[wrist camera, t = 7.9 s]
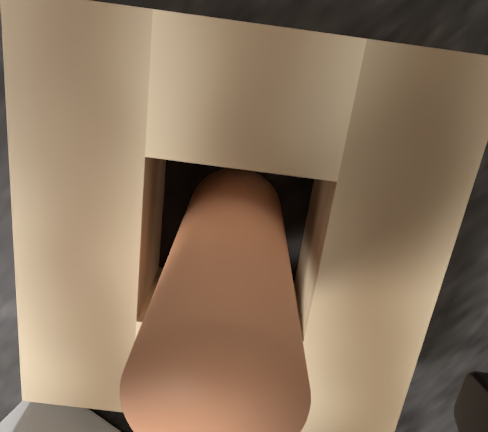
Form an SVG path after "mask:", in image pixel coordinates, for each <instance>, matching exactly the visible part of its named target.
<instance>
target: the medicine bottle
mask: <svg viewBox="0 0 488 432" xmlns="http://www.w3.org/2000/svg"><path fill="white" fill-rule="evenodd" d="M0 432H121V431H120V430H118V429H117V428H115V427H114V426H112V425H111V424H110V423H108V422H107V421H105V420H104V419H102V418H101V417H100V416H98V415H97V414H95V413H94V412H93V411H91V410H90V409H88V408H80V407H72V406H63V405H54V404H45V403H37V402H28V401H22V402H21V403H20V404H19V405H18V406H17V407H16V408H15V409H14V410H13V411H12V412H10V413H9V414H8V415H7V416H6V417H5V418H4V419H3V420H2V421H1V422H0Z"/></svg>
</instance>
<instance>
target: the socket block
mask: <svg viewBox="0 0 488 432" xmlns="http://www.w3.org/2000/svg"><path fill="white" fill-rule="evenodd" d="M0 6H1V24H2V43H3V61H4V79H5V97H6V116H7V134H8V152H9V170H10V189H11V207H12V225H13V243H14V262H15V280H16V298H17V316H18V335H19V353H20V371H21V389H22V401H28V402H37V403H45V404H54V405H63V406H72V407H80V408H89V409H98V410H107V411H115V412H123V410H122V407H121V402H120V381H121V377H122V373H123V370H124V367H125V365H126V362H127V360H128V357H129V355H130V352H131V350H132V347H133V344H134V342H135V339H136V337H137V334H138V332H139V329H140V327H141V324H142V322H143V319H144V317H145V314H146V311H147V309H148V306H149V304H150V301H151V299H152V296H153V294H154V291H155V289H156V286H157V283H158V281H159V278H160V276H161V273H162V271H163V267H159V258H160V243H161V229H162V215H163V200H164V186H165V172H166V160H173V161H180V162H188V163H196V164H203V165H211V166H219V167H227V168H234V169H242V170H250V171H257V172H265V173H273V174H281V175H288V176H296V177H304V178H311V179H314V182H313V187H312V192H311V198H310V203H309V208H308V213H307V219H306V224H305V229H304V235H303V240H302V245H301V250H300V256H299V261H298V266H297V271H296V277H295V282H294V290H295V296H296V303H297V309H298V315H299V321H300V328H301V334H302V340H303V346H304V352H305V359H306V365H307V371H308V377H309V383H310V390H311V405H310V411H309V415H308V418H307V421H306V423H305V425H304V427H303V429H302V430H301V432H395V429H396V426H397V423H398V420H399V416H400V413H401V410H402V407H403V404H404V401H405V398H406V395H407V391H408V388H409V385H410V382H411V379H412V376H413V373H414V370H415V366H416V363H417V360H418V357H419V354H420V351H421V348H422V345H423V341H424V338H425V335H426V332H427V329H428V326H429V323H430V319H431V316H432V313H433V310H434V307H435V304H436V301H437V298H438V294H439V291H440V288H441V285H442V282H443V279H444V276H445V273H446V269H447V266H448V263H449V260H450V257H451V254H452V251H453V248H454V244H455V241H456V238H457V235H458V232H459V229H460V226H461V222H462V219H463V216H464V213H465V210H466V207H467V204H468V201H469V197H470V194H471V191H472V188H473V185H474V182H475V179H476V176H477V172H478V169H479V166H480V163H481V160H482V157H483V154H484V151H485V147H486V144H487V141H488V55H481V54H474V53H467V52H459V51H452V50H445V49H438V48H431V47H423V46H416V45H409V44H402V43H395V42H387V41H380V40H373V39H366V38H358V37H351V36H344V35H337V34H330V33H322V32H315V31H308V30H301V29H293V28H286V27H279V26H272V25H265V24H257V23H250V22H243V21H236V20H228V19H221V18H214V17H207V16H200V15H192V14H185V13H178V12H171V11H163V10H156V9H149V8H142V7H135V6H127V5H120V4H113V3H106V2H98V1H91V0H0Z"/></svg>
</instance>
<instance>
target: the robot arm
mask: <svg viewBox="0 0 488 432" xmlns="http://www.w3.org/2000/svg"><path fill="white" fill-rule="evenodd" d="M454 417H455V421H456V424H457V428H458V431H459V432H488V373H485V372H477V371H470V372H468V373H467V374H466V376H465V378H464V380H463V383H462V386H461V388H460V391H459V394H458V396H457V399H456V402H455V405H454Z"/></svg>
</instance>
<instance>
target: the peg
mask: <svg viewBox="0 0 488 432" xmlns="http://www.w3.org/2000/svg"><path fill="white" fill-rule="evenodd" d="M120 402H121V407H122V410H123V413H124V416H125V418H126V420H127V422H128V424H129V426H130V427H131V429H132V430H133V431H134V432H301V430H302V429H303V427H304V425H305V423H306V421H307V418H308V415H309V411H310V405H311V390H310V383H309V377H308V371H307V365H306V359H305V352H304V346H303V340H302V334H301V328H300V321H299V315H298V309H297V303H296V296H295V290H294V284H293V278H292V272H291V265H290V259H289V253H288V247H287V241H286V234H285V228H284V222H283V216H282V210H281V204H280V200H279V197H278V194H277V192H276V190H275V189H274V187H273V186H272V185H271V184H270V182H269V181H268V180H266V179H265V178H264V177H263V176H261V175H260V174H258V173H256V172H254V171H250V170H242V169H234V168H226V169H221V170H218V171H216V172H214V173H212V174H210V175H208V176H207V177H206V178H204V179H203V180H202V181H201V182H200V183H199V185H198V186H197V187H196V189H195V190H194V193H193V195H192V197H191V200H190V202H189V205H188V207H187V210H186V212H185V215H184V217H183V220H182V222H181V225H180V228H179V230H178V233H177V235H176V238H175V240H174V243H173V245H172V248H171V250H170V253H169V256H168V258H167V261H166V263H165V266H164V268H163V271H162V273H161V276H160V278H159V281H158V283H157V286H156V289H155V291H154V294H153V296H152V299H151V301H150V304H149V306H148V309H147V311H146V314H145V317H144V319H143V322H142V324H141V327H140V329H139V332H138V334H137V337H136V339H135V342H134V344H133V347H132V350H131V352H130V355H129V357H128V360H127V362H126V365H125V367H124V370H123V373H122V377H121V381H120Z"/></svg>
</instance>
